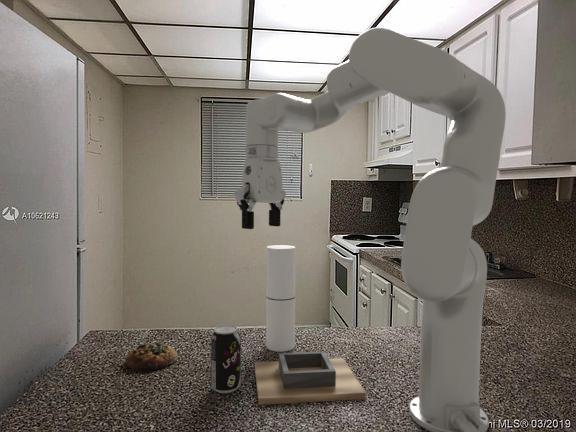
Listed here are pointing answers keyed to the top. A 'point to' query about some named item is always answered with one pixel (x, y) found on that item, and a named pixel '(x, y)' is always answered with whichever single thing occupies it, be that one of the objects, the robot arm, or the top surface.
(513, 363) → the top surface
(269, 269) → the cylindrical container
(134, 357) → the bread roll
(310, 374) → the board
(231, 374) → the beverage can
